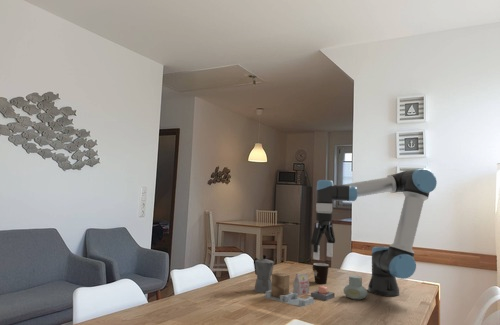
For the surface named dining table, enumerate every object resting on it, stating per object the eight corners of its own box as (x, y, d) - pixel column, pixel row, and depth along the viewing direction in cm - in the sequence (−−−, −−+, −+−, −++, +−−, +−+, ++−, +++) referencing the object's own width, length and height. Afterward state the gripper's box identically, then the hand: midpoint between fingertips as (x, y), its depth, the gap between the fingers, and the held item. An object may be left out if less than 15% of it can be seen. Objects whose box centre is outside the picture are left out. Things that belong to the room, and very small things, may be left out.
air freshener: (369, 298, 175) (369, 276, 176) (364, 302, 168) (365, 279, 169) (346, 294, 181) (346, 273, 182) (341, 298, 174) (341, 276, 175)
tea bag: (293, 295, 175) (293, 273, 176) (303, 293, 179) (304, 272, 180) (298, 296, 172) (299, 275, 173) (308, 295, 176) (309, 274, 177)
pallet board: (316, 303, 162) (316, 296, 162) (302, 309, 153) (302, 302, 153) (277, 294, 175) (277, 288, 175) (262, 299, 166) (262, 292, 166)
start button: (328, 296, 170) (328, 287, 171) (324, 297, 167) (324, 288, 168) (320, 294, 173) (321, 285, 173) (316, 295, 170) (317, 287, 170)
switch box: (334, 299, 170) (334, 292, 171) (326, 302, 164) (326, 295, 165) (319, 296, 175) (319, 289, 176) (310, 299, 169) (311, 292, 169)
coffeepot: (279, 295, 174) (280, 256, 176) (263, 297, 169) (264, 257, 171) (260, 287, 187) (262, 252, 189) (245, 289, 182) (246, 252, 184)
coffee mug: (329, 284, 200) (330, 266, 201) (314, 284, 200) (314, 265, 201) (325, 280, 212) (326, 262, 213) (311, 279, 212) (311, 261, 213)
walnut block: (288, 297, 166) (289, 275, 167) (284, 299, 163) (284, 276, 164) (276, 294, 171) (276, 272, 172) (271, 296, 167) (271, 274, 168)
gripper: (328, 212, 186) (327, 254, 184) (304, 212, 166) (302, 259, 164) (342, 212, 181) (341, 256, 179) (318, 213, 162) (317, 262, 160)
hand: (323, 258), depth 172 cm, fingers open, 13 cm apart
